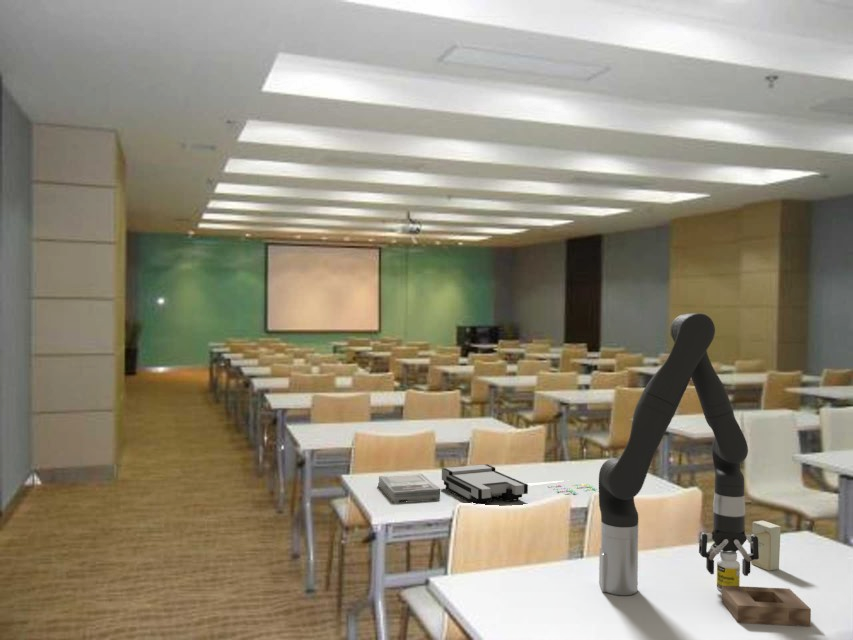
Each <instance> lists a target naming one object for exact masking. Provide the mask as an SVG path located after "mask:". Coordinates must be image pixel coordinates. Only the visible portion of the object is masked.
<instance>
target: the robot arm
mask: <svg viewBox="0 0 853 640" xmlns="http://www.w3.org/2000/svg"><path fill="white" fill-rule="evenodd" d="M669 333H670V336H671V338H672V341H673V342H674V344H673V346H672V348H671V350H670V352H669V355H668V357H667V358H666V360H665V362H663V364H662V365H661V366H660V368H658V369H657V371H656V372H655V373H654V375H653V376H652V377H651V379H650V380H649V381H648V382H647V383H646V386H645V388H644V390H643V391H642V393H641V395H640V397H639V400H638V401H637V404H636V406H635V408H634V412H633V417H632V421H631V430H630V433H629V439H628V441H627V443H626V446H625V448H624V450H623V452H622V454H621V456H620V457H611V458H609V459H607V460H606V461H604V463H603V464H602V465H601V466H600V470H599V471H598V472H599V473H598V491H599V493H598V504H599V505H598V506H599V511H600V515H601V516H600V517H601V519H600V520H601V522H600V525H601V526H600V527H601V529H600V536H601V537H600V547H599V555H598V556H599V557H598V559H599V560H598V561H599V565H598V569H599V572H598V573H599V574H598V576H599V577H598V584H599V587H600V590H601V591H602V593H608V594H612V595H616V596H631V595H634V594H636V593H637V592H638V586H639V584H638V583H639V582H638V577H639V576H638V575H639V574H638V572H639V570H638V569H639V566H638V565H639V513H638V510H637V506H636V504H635V497H636V496H637V495H638V494H639V493H640V491H641V490H642V489H643V486H644V484H645V482H646V481H645V480H646V478H647V475H648V471H649V470H650V466H651V464H652V462H653V461H652V460H653V459H654V456H655V453H657V450H658V447H659V445H660V443H661V441H662V440H663V438H664V435H665V433H666V432H667V429H668V428H669V425H670V423H671V422H672V420H673V418H674V416H675V414H676V411H677V410H678V408H679V405H680V403H681V400H682V398H683V396H684V394H685V391H686V390H687V388H688V386H689V384H690V381H692V383H693V386H694V389H695V392H696V394H697V397H698V399H699V404H700V407H701V409H702V413H703V416H704V419H705V421H706V423H707V425H708V426H709V428H710V429H711V430H712V432H713V433H712V434H713V436H714V439H713V441H712V446H711V454H712V462H713V468H714V494H713V495H714V496H713V501H712V502H713V503H712V509H713V510H712V511H713V512H712V517H713V518H712V532H711V533H710V532H709V533H708V532H704V531H700V532H699V544H698V546H699V547H698V553H699V554H700V556H701V557H702V558H706V559H705V560H706V565H705V566H706V570H707V572H708V573H709V574H710V575H714V574H715V559H714V558H716V556H717V555H720V551H721V550H723V551H732V552H736V553H737V551H738V552H739V553H740V554H741V556H742V558H743V559H742V560H741V561H742V563H741V564H742V566H741V567H742V568H741V569H742V570H741V571H742V575H743V576H744V577H748V576H749V575H750V573H751V561H752V560H754V559H755V560H757V559H758V558H759V550H758V537H757V536H756V535H754V534H752V533H750V534H746V499H745V477H744V474H743V473H742V470H741V463H742V462H744V461H745V460H746V459H747V457H748V453H749V446H748V442H747V440H746V438H745V436H744V433H743V431H742V429H741V427H740V425H739V423H738V421H737V419H736V416H735V413H734V410H733V407H732V404H731V401H730V397H729V395H728V392H727V389H726V388H725V386H724V384H723V383H722V380H721V379H720V377H719V375H718V373H717V372H716V371H715V369H714V367H713V364H712V362H711V359H710V357H709V354H708V349H709V347H710V346H711V344H712V342H713V340H714V338H715V333H716V327H715V324H714V320H712V318H711V317H710V316H708V315H707V314H704V313H699V312H692V313H690V312H689V313H684V314H680V315H678V316H677V317H675V318H674V320H673V321H672V323H671V325H670V332H669ZM711 539H712V540H713V543H711V546H710V548H709V549H708V548H707V547H708V543H709V542H710V540H711ZM746 541H747V542H748V543H749V547H750V549H749V550H750V553H748V552H747V551H746V549H745V548H744V546H743V545H744V544H745V542H746ZM707 549H708V550H707Z"/></svg>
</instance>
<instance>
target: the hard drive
mask: <svg viewBox="0 0 853 640" xmlns="http://www.w3.org/2000/svg"><path fill="white" fill-rule="evenodd" d="M378 488H380V490H381V491H382V492H383V491H384V492H385V493H386V494H387V495H388V496H387V495H386V494H385V493H384V492H383V493H384V494H385V495H386V496H387V497H388V498H389V500H390V501H391V500H392V501H393V502H392V503H394V502H399V503H407V502H406V501H414V502H423V501H422V500H429V501H439V500H438V499H440V500H441V488H440V487H439V486H438V485H437V484H435V483H434V482H433V481H432V480H430V479H429V478H428V477H427V476H425V475H424V473H408V474H391V475H389V474H387V475H378Z"/></svg>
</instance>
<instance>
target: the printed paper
mask: <svg viewBox="0 0 853 640" xmlns="http://www.w3.org/2000/svg"><path fill="white" fill-rule="evenodd" d="M569 481H570V480H568V482H569ZM559 482H563V480H555V481H543V482H542V481H541V482H530V483H528V482H527V483H526V484H527V485H528V486H537V485H538V486H539V485H544V484H546V485H547V484H551V483H552V484H553V483H554V484H555V483H559ZM563 486H564V487H563ZM572 486H573V487H574V488H576V489H583V488H586V489H583V491H588V490H590V489H591V490H593V491H596V490H597V492H599V488H596V487H595V486H593V485H591V484H589V483H588V484H587V483H579V485H578V484H572ZM553 487H555V488H553ZM557 487H558V488H560V490H558V488H557ZM547 488H553V490H554V491H555V493H557V494H558V493H564V492H568V493H566V494H567V495H570V494H573V495H579V493H578V492H576V490H573V489H570V488H569V487H565V485H564V484H563V485H562V484H555V485H551V486H550V485H547Z"/></svg>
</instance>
